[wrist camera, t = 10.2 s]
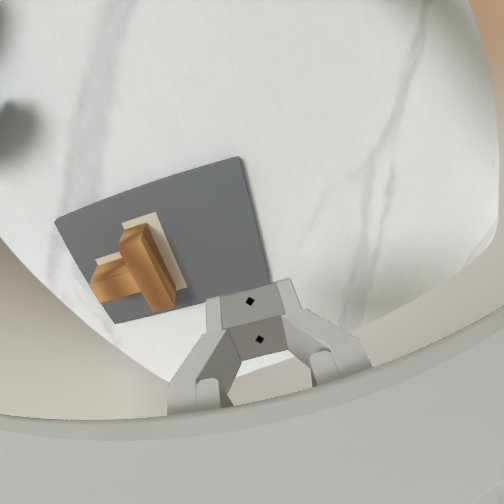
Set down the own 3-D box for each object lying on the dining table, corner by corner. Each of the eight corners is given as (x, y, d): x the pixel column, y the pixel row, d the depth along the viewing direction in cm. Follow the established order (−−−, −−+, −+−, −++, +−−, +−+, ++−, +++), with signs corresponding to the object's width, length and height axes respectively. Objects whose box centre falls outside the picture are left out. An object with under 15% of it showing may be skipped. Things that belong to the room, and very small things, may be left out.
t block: (146, 222, 34) (140, 239, 30) (176, 286, 39) (174, 306, 36) (84, 244, 34) (74, 261, 30) (118, 302, 39) (113, 322, 36)
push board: (238, 156, 32) (239, 158, 31) (268, 280, 42) (270, 284, 41) (57, 218, 32) (54, 222, 31) (116, 319, 42) (114, 324, 41)
